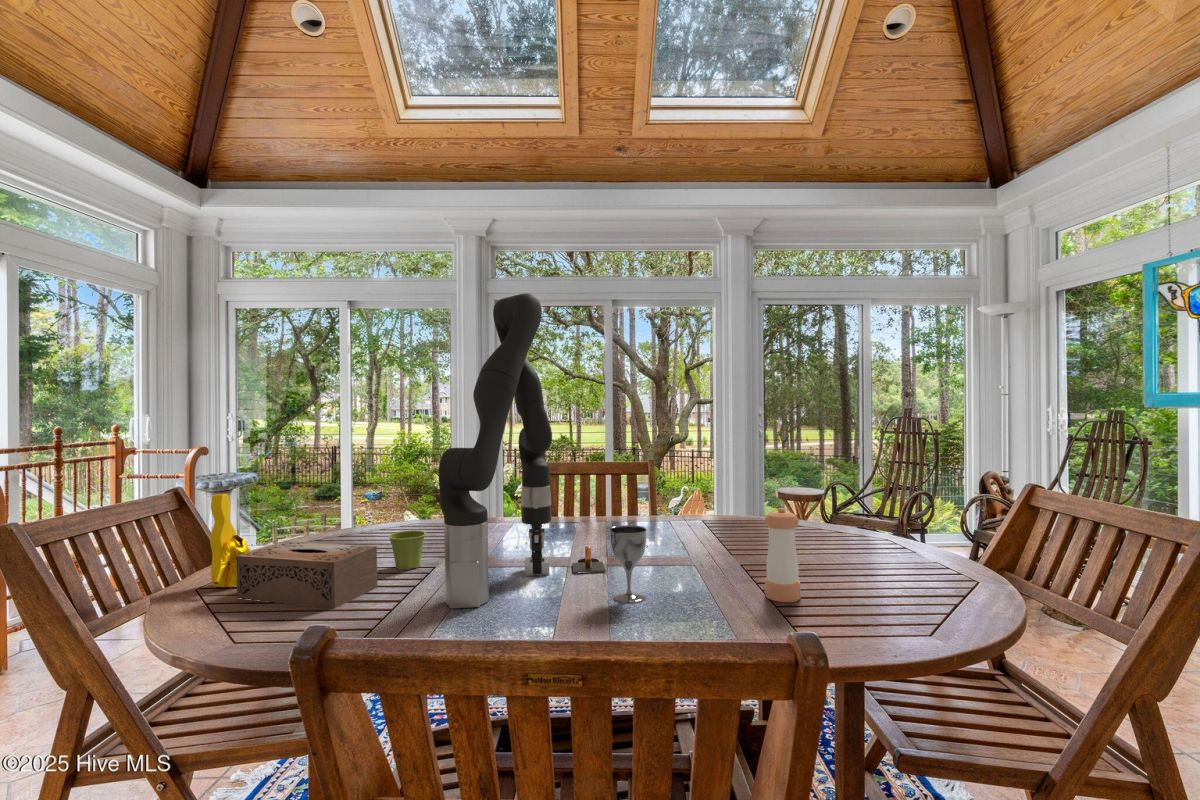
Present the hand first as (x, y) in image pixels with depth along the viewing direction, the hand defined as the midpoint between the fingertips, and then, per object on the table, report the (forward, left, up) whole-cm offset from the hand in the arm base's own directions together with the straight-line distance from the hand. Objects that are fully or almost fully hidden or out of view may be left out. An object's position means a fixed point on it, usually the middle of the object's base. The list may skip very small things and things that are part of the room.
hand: (537, 569), depth 152 cm
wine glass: (-23, -20, -1) cm, 30 cm away
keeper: (+1, -13, -1) cm, 13 cm away
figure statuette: (0, +74, -1) cm, 74 cm away
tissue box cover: (-9, +52, -1) cm, 53 cm away
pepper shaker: (-27, -53, -1) cm, 59 cm away
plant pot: (+10, +34, -1) cm, 35 cm away
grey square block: (0, 0, -1) cm, 1 cm away
